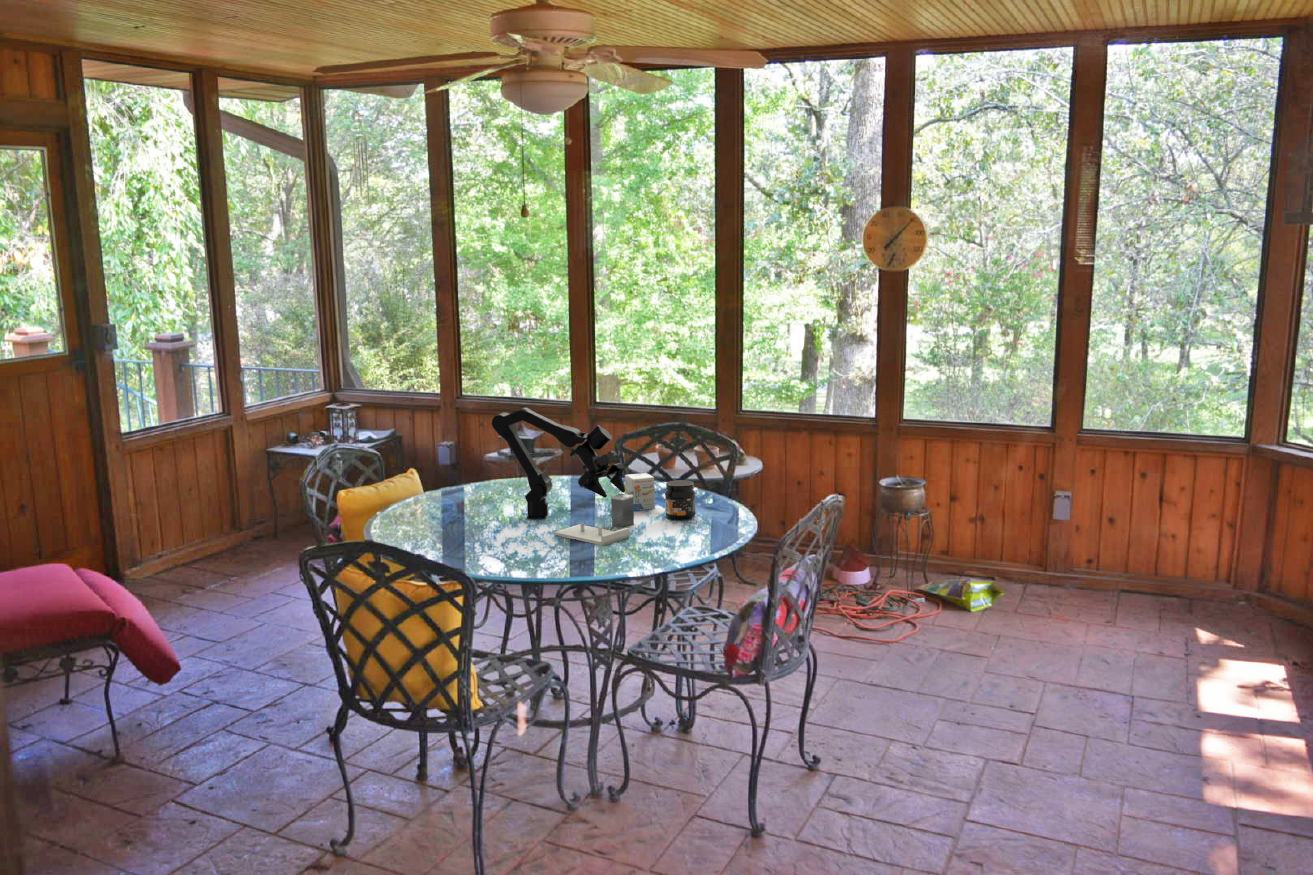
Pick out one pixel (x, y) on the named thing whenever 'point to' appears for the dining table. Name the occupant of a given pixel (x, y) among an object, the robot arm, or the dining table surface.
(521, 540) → the dining table surface
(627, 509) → the block
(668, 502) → the supplement container
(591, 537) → the tray
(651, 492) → the ink box
